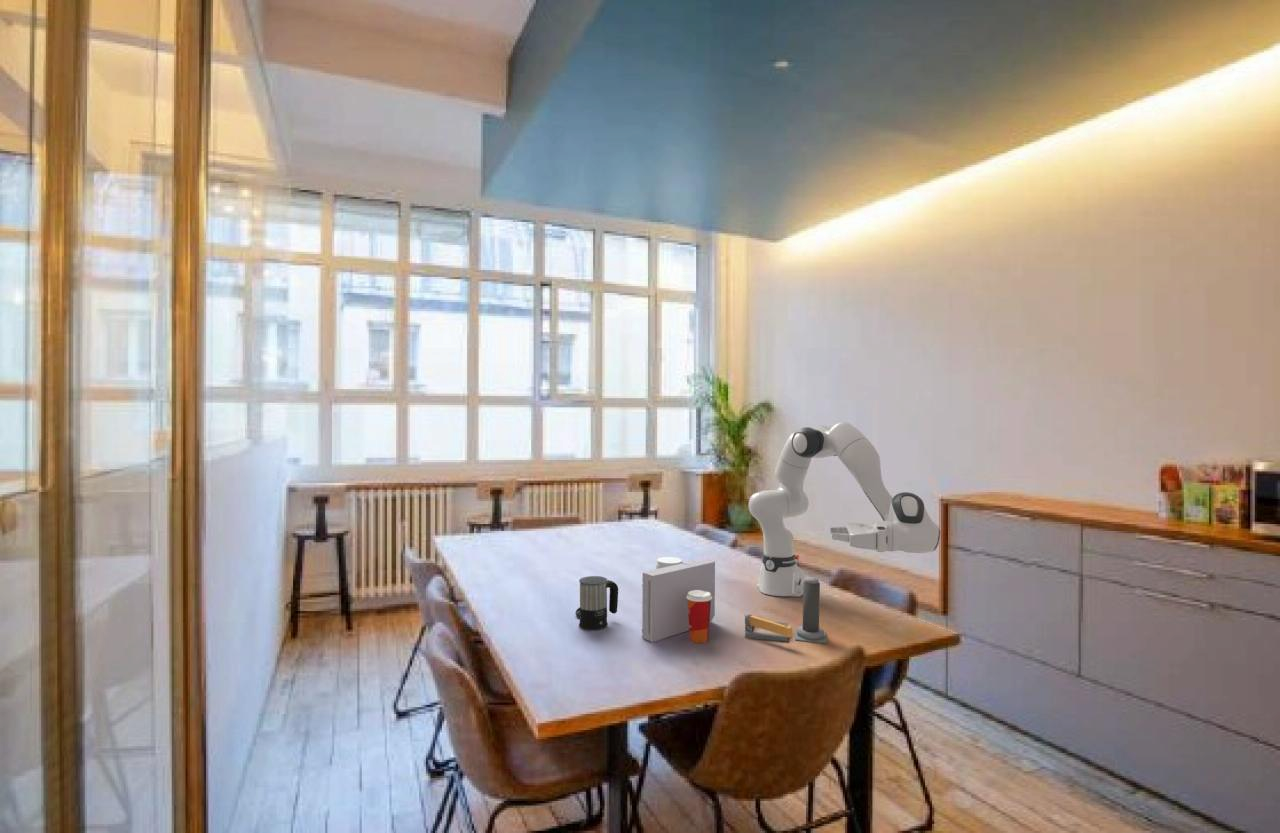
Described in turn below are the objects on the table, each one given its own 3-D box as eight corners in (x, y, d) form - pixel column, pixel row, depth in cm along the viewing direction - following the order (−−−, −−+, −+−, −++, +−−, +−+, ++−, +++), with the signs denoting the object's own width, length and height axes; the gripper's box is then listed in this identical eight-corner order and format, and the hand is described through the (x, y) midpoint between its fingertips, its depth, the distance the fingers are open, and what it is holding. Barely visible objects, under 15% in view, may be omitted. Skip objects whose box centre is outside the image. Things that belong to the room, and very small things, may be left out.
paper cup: (695, 633, 186) (695, 587, 186) (716, 639, 181) (716, 592, 181) (680, 640, 180) (681, 593, 180) (702, 646, 175) (702, 598, 175)
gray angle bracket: (748, 623, 194) (748, 619, 194) (788, 627, 191) (788, 622, 191) (745, 637, 182) (745, 632, 182) (787, 641, 179) (787, 637, 179)
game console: (639, 637, 182) (639, 571, 182) (701, 617, 200) (702, 558, 200) (651, 642, 178) (652, 575, 178) (714, 622, 195) (714, 561, 195)
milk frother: (595, 633, 185) (595, 585, 185) (557, 623, 194) (557, 577, 194) (622, 620, 197) (622, 575, 197) (585, 611, 206) (585, 568, 206)
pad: (795, 629, 189) (795, 628, 189) (825, 632, 186) (825, 631, 186) (795, 640, 180) (795, 639, 180) (826, 643, 178) (826, 642, 178)
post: (745, 632, 186) (745, 622, 186) (751, 633, 185) (751, 623, 185) (744, 635, 184) (744, 624, 184) (751, 635, 184) (751, 625, 184)
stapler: (743, 623, 185) (743, 615, 185) (747, 621, 186) (747, 613, 186) (787, 637, 173) (787, 628, 173) (792, 635, 175) (792, 626, 175)
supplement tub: (651, 601, 216) (651, 561, 216) (661, 594, 225) (661, 555, 225) (676, 605, 212) (677, 564, 212) (686, 598, 221) (686, 558, 221)
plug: (797, 629, 188) (798, 575, 188) (823, 631, 186) (824, 577, 186) (797, 638, 180) (798, 581, 180) (824, 641, 178) (826, 584, 178)
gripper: (875, 519, 188) (829, 517, 192) (884, 531, 168) (833, 528, 172) (875, 539, 188) (829, 536, 192) (884, 553, 168) (832, 550, 172)
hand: (831, 533), depth 182 cm, fingers open, 8 cm apart
